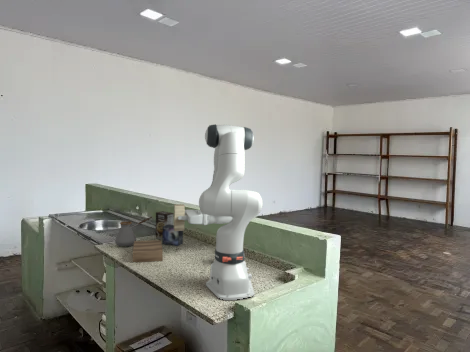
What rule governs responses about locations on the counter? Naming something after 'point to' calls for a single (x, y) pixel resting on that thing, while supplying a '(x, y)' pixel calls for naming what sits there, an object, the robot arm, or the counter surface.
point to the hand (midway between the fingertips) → (177, 216)
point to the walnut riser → (147, 251)
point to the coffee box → (163, 222)
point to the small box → (171, 236)
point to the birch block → (178, 211)
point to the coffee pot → (127, 233)
